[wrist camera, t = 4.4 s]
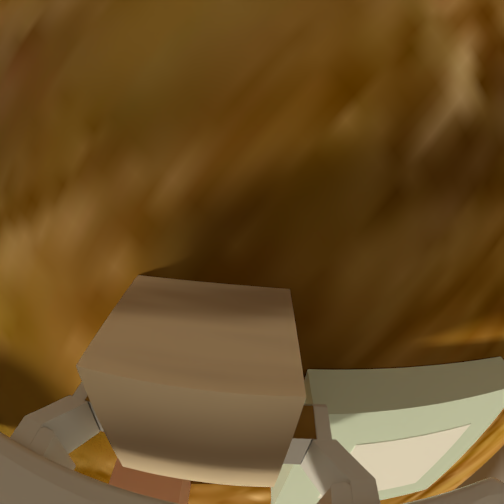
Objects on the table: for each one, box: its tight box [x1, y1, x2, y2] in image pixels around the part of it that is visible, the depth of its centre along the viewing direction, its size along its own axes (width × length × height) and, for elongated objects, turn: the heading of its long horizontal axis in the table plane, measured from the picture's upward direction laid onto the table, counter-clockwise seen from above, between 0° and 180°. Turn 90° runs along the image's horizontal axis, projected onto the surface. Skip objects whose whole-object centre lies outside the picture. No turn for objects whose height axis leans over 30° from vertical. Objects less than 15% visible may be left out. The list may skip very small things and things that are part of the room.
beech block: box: [76, 275, 306, 487], centre depth 10 cm, size 6×6×5 cm
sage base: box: [271, 356, 504, 504], centre depth 13 cm, size 12×12×3 cm
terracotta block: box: [109, 458, 191, 504], centre depth 15 cm, size 4×4×4 cm
